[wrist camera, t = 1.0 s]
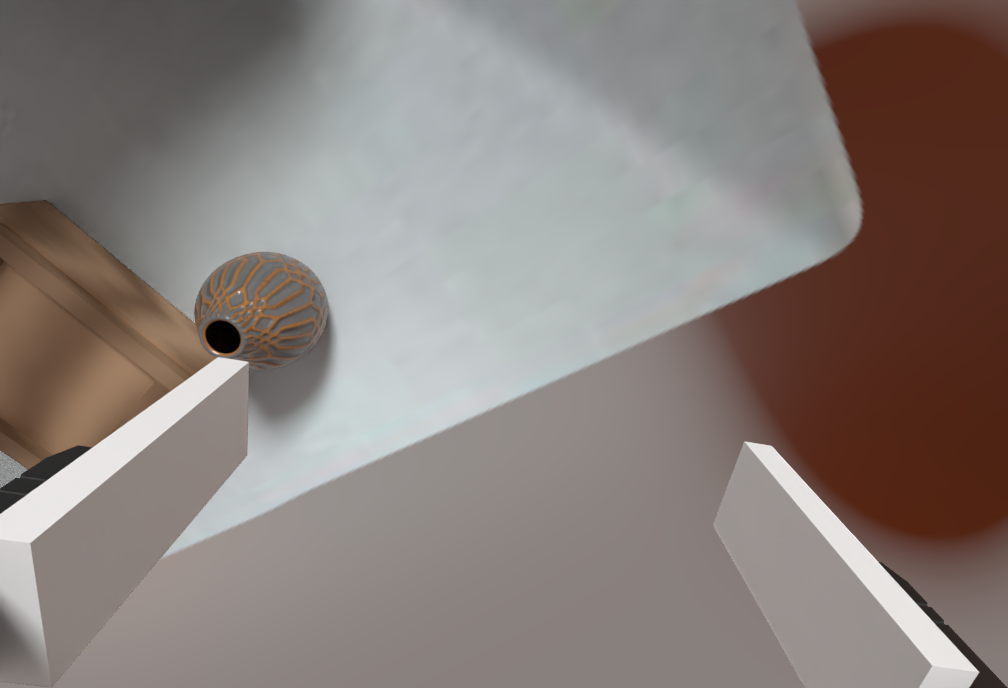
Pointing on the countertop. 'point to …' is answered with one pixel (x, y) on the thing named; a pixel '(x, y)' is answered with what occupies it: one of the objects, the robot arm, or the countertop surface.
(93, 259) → the brown wooden flat box
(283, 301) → the vase
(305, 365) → the countertop surface
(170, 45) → the countertop surface
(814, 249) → the countertop surface
